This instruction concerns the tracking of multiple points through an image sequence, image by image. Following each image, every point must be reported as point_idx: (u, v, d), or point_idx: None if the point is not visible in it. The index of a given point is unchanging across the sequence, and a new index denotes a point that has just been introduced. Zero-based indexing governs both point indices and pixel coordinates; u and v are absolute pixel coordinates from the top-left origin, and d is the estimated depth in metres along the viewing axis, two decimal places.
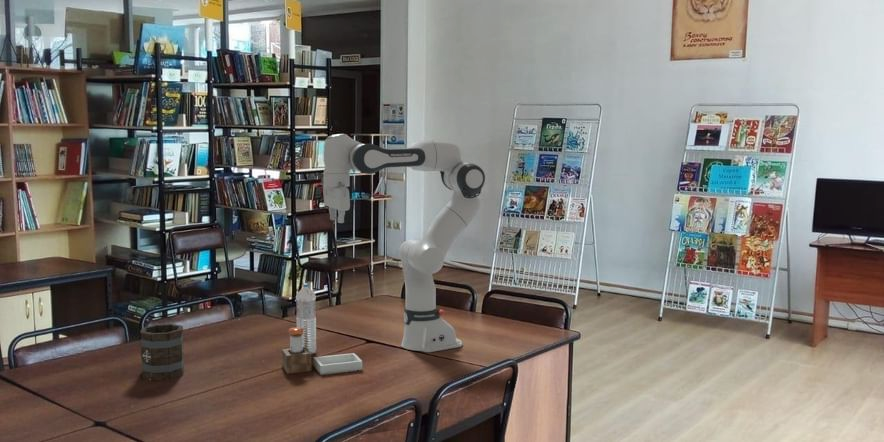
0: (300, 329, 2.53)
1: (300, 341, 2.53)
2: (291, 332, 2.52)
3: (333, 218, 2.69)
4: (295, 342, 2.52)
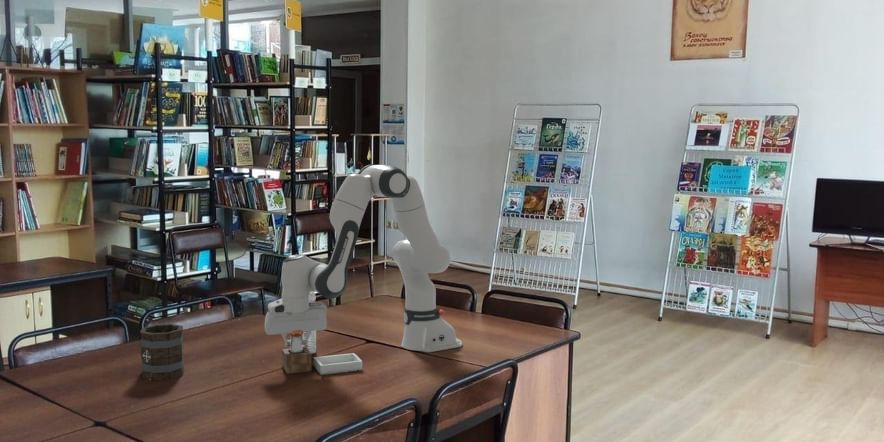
0: None
1: (300, 341, 2.53)
2: None
3: (289, 344, 2.53)
4: (295, 342, 2.52)
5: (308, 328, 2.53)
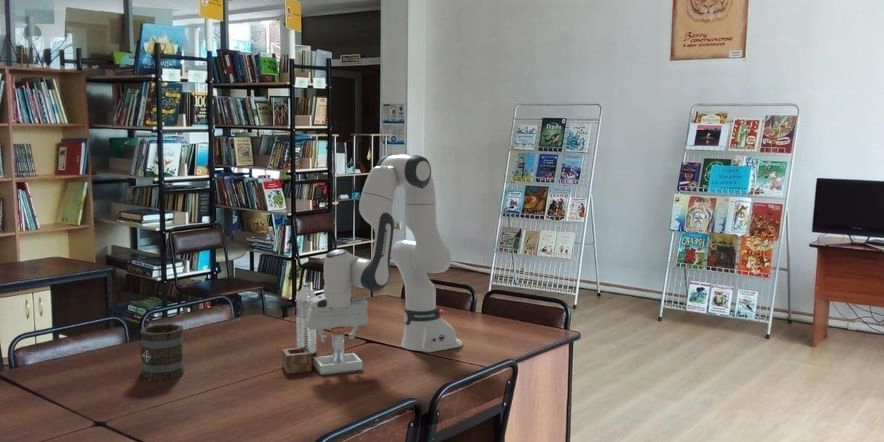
0: (342, 327, 2.54)
1: (342, 338, 2.54)
2: (333, 329, 2.53)
3: None
4: (337, 339, 2.53)
5: (350, 323, 2.54)
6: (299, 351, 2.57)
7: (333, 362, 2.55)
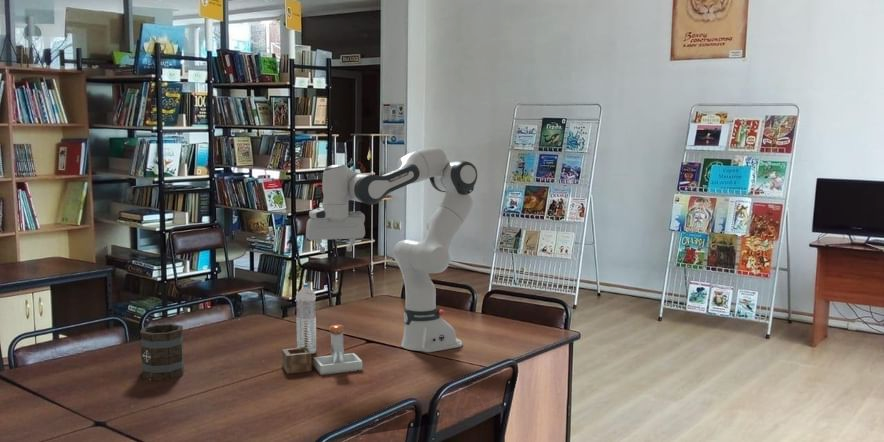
0: (341, 326, 2.54)
1: (341, 338, 2.54)
2: (332, 329, 2.53)
3: None
4: (336, 339, 2.53)
5: (347, 235, 2.64)
6: (299, 351, 2.57)
7: (333, 362, 2.55)
